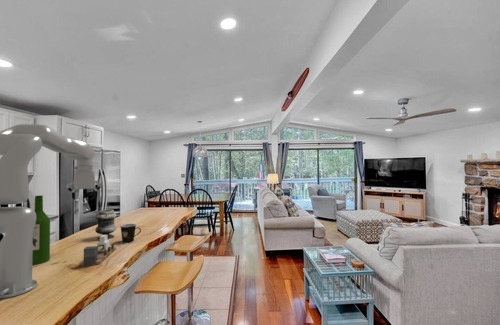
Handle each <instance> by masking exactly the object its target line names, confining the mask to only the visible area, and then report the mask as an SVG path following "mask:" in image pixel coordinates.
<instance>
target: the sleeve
mask: <svg viewBox="0 0 500 325" xmlns="http://www.w3.org/2000/svg"><path fill="white" fill-rule="evenodd" d="M101 235H102V234H101ZM101 235H100V240H99V241H98V242H97V244H96V246H98V248H99V247H100V246H101V245H104V248H102V249H101V250H100V251H104V250H108V247H111V246H110V245H111V244H110V242H111V241H110V239H107V235H102V236H101Z"/></svg>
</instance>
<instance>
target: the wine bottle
mask: <svg viewBox="0 0 500 325" xmlns="http://www.w3.org/2000/svg"><path fill="white" fill-rule="evenodd" d="M43 202H44V195H34V211H35V213H36V222H35V226H34V231H33V254H32V266H34V265H35V266H36V265H40V264H43V263H47V262H49V260H50V257H51V251H50V250H51V220H50V217H49V216H48V215H47V214H46V213H45V211H44V204H43Z"/></svg>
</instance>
